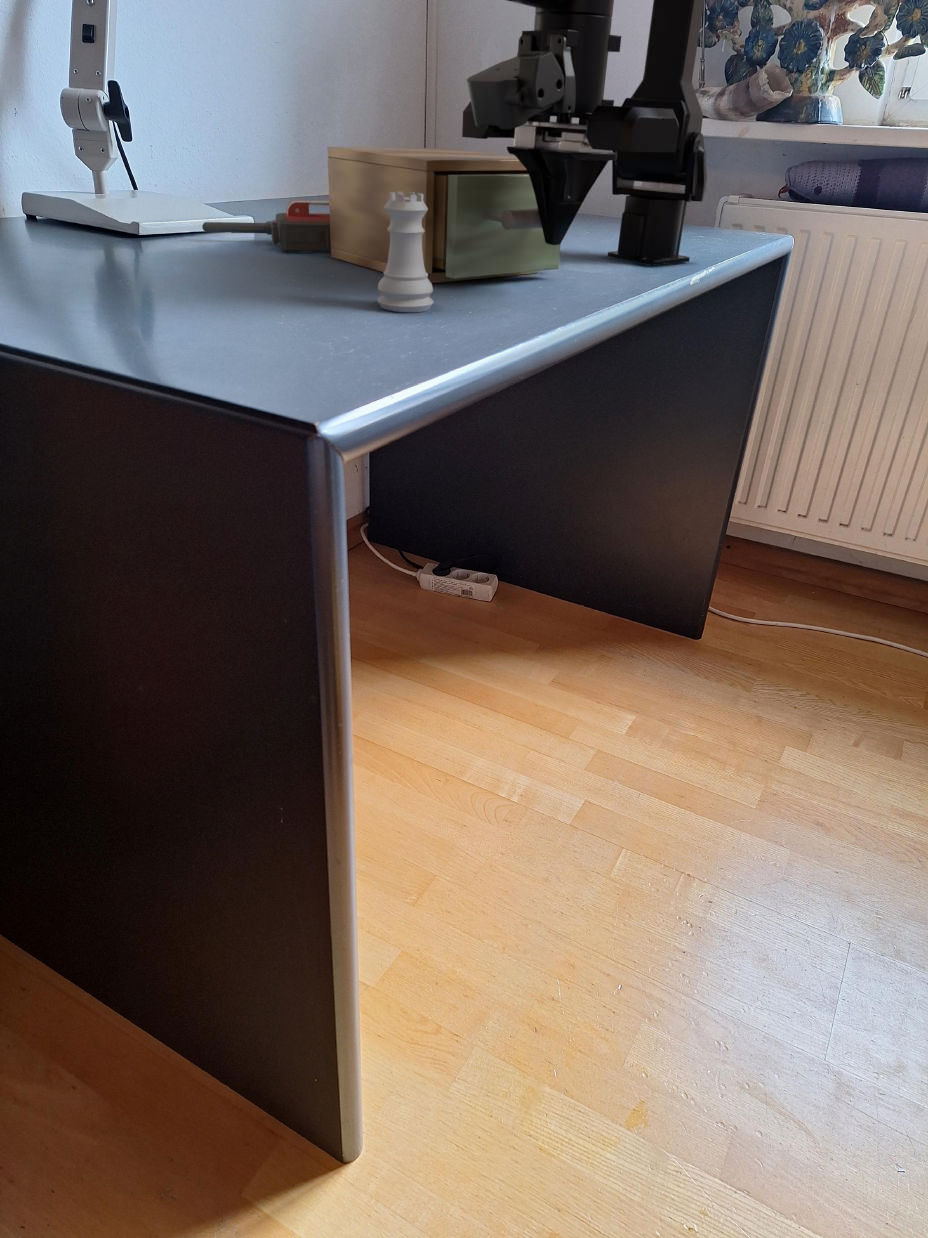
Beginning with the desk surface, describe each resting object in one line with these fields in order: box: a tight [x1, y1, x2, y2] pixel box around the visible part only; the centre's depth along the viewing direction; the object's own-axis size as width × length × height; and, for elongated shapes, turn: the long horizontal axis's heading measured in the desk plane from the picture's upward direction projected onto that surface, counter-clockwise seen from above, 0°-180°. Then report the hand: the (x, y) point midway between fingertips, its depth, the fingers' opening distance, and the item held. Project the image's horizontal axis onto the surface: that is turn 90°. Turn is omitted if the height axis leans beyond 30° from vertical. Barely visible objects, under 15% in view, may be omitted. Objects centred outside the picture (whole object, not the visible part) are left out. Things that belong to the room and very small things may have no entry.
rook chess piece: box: [376, 192, 435, 313], centre depth 65 cm, size 4×4×8 cm
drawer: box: [432, 171, 562, 279], centre depth 78 cm, size 18×12×8 cm
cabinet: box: [326, 146, 538, 284], centre depth 82 cm, size 16×14×10 cm
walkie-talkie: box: [201, 199, 331, 253], centre depth 90 cm, size 9×4×20 cm
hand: (552, 244), depth 72 cm, fingers closed
